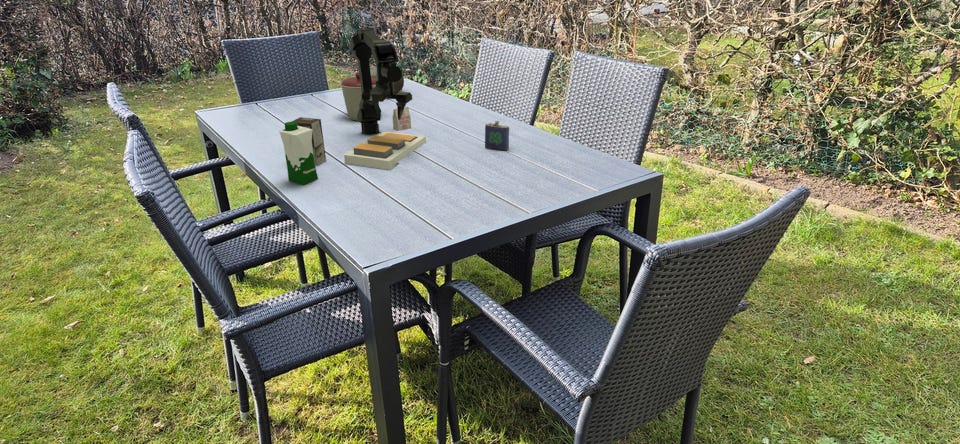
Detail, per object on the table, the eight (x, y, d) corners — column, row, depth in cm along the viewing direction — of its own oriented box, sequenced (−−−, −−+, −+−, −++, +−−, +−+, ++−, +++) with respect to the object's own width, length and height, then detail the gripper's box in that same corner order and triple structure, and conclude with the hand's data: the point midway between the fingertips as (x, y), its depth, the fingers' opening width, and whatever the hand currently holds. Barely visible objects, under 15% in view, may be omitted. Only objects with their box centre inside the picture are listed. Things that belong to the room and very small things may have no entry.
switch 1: (354, 154, 214) (353, 147, 212) (362, 149, 218) (361, 142, 217) (385, 158, 209) (384, 151, 208) (392, 153, 214) (392, 146, 213)
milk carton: (304, 173, 205) (295, 118, 196) (322, 178, 201) (314, 122, 192) (284, 181, 198) (275, 125, 190) (303, 187, 194) (294, 129, 185)
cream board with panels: (335, 162, 215) (334, 153, 214) (376, 138, 240) (375, 130, 239) (390, 169, 208) (389, 161, 207) (426, 144, 233) (425, 136, 232)
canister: (391, 116, 270) (387, 70, 260) (364, 126, 256) (360, 78, 246) (362, 110, 278) (358, 66, 269) (335, 119, 265) (329, 73, 255)
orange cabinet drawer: (381, 143, 231) (380, 136, 230) (388, 139, 236) (387, 132, 235) (410, 147, 227) (410, 140, 226) (416, 142, 232) (416, 136, 231)
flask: (509, 149, 228) (510, 121, 223) (507, 151, 225) (507, 123, 220) (486, 146, 231) (486, 118, 226) (483, 148, 229) (483, 120, 224)
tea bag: (393, 131, 249) (391, 108, 245) (407, 128, 253) (406, 106, 248) (397, 133, 247) (395, 110, 242) (411, 130, 250) (410, 108, 245)
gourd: (348, 94, 295) (350, 59, 290) (365, 91, 319) (367, 58, 314) (394, 101, 293) (397, 66, 287) (408, 97, 316) (411, 65, 311)
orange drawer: (368, 146, 222) (367, 139, 221) (375, 141, 227) (375, 135, 226) (398, 150, 218) (397, 143, 217) (405, 145, 223) (404, 138, 221)
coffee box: (327, 160, 217) (321, 118, 210) (317, 166, 212) (311, 123, 204) (306, 157, 220) (300, 116, 212) (296, 163, 214) (289, 121, 207)
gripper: (351, 80, 209) (356, 122, 216) (398, 83, 203) (401, 126, 210) (366, 74, 218) (370, 114, 225) (411, 77, 213) (414, 118, 219)
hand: (388, 118), depth 220 cm, fingers open, 9 cm apart
